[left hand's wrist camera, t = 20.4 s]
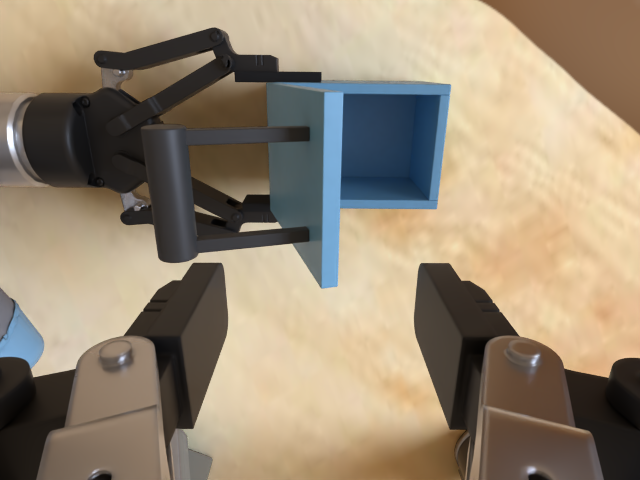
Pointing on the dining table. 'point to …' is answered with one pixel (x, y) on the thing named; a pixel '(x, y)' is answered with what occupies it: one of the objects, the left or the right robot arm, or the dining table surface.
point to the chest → (390, 142)
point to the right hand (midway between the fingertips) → (320, 143)
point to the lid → (284, 177)
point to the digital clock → (188, 459)
